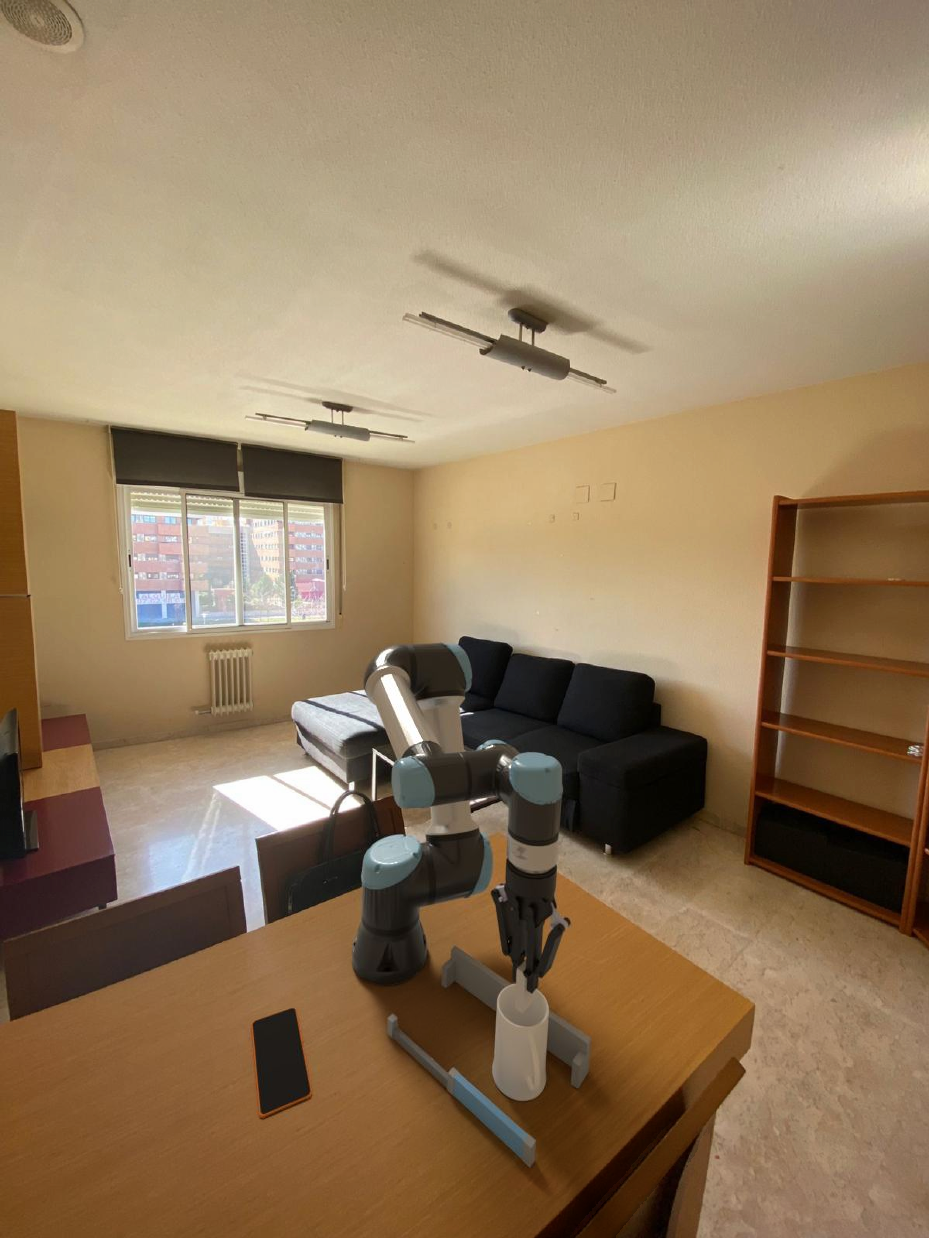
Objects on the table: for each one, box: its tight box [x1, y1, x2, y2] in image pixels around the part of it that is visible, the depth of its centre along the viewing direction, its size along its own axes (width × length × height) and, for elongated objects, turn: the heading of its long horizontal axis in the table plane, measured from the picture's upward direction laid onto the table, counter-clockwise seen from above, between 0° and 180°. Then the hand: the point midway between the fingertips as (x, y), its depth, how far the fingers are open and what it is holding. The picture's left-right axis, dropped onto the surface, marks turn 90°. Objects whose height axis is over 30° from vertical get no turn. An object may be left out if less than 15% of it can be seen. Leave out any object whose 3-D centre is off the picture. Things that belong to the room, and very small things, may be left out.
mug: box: [491, 983, 550, 1102], centre depth 78 cm, size 12×8×12 cm
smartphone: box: [250, 1006, 313, 1119], centre depth 81 cm, size 8×17×1 cm, turn 27°
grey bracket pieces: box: [386, 945, 592, 1168], centre depth 83 cm, size 29×17×6 cm, turn 50°
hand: (523, 1004), depth 77 cm, fingers closed
